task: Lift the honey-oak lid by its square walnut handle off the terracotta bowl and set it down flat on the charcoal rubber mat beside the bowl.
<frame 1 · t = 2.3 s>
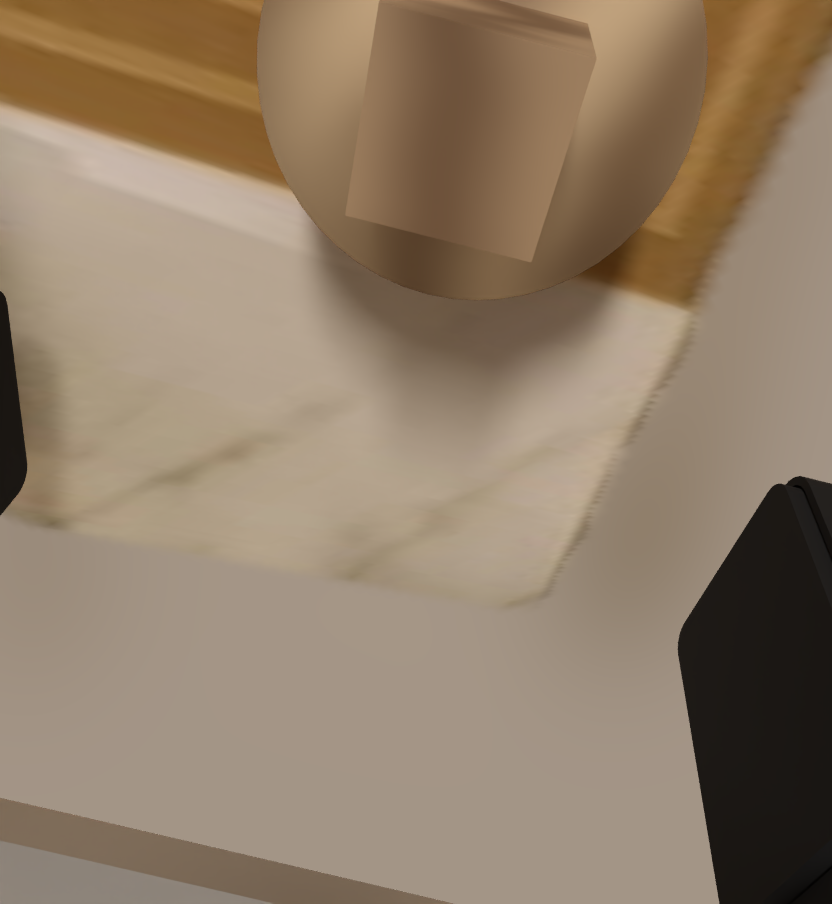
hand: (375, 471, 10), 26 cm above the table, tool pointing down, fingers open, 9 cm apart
lid: (476, 89, 26), point 6 cm above the table, touching bowl
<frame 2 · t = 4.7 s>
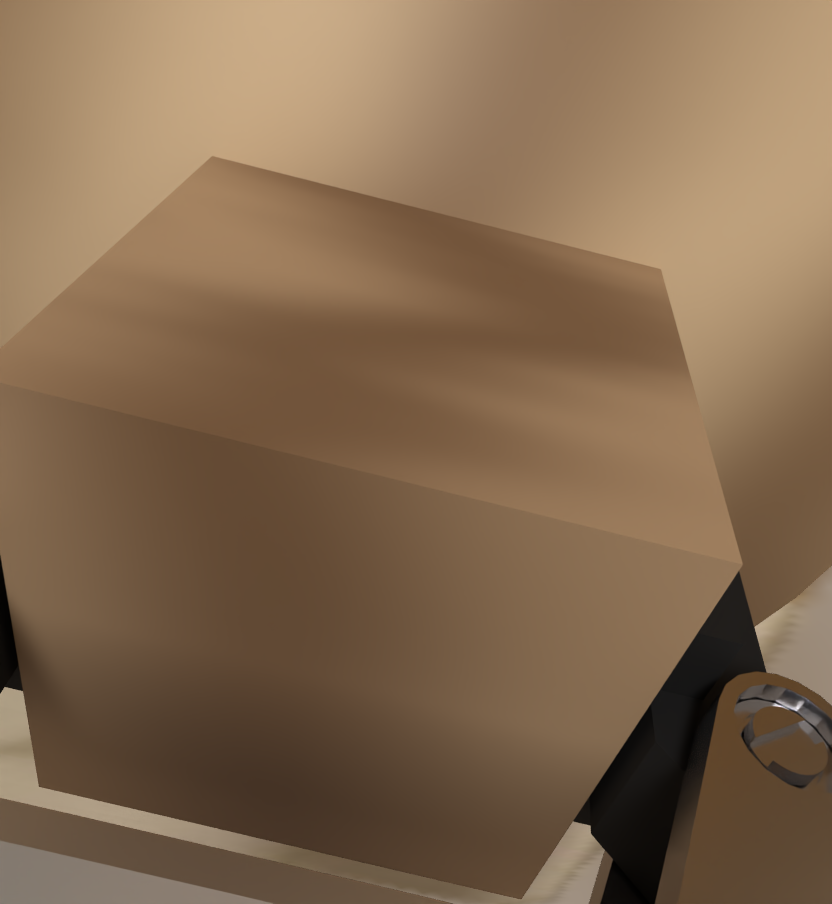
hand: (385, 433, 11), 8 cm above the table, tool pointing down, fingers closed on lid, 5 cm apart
lid: (404, 363, 12), point 6 cm above the table, touching bowl, gripper
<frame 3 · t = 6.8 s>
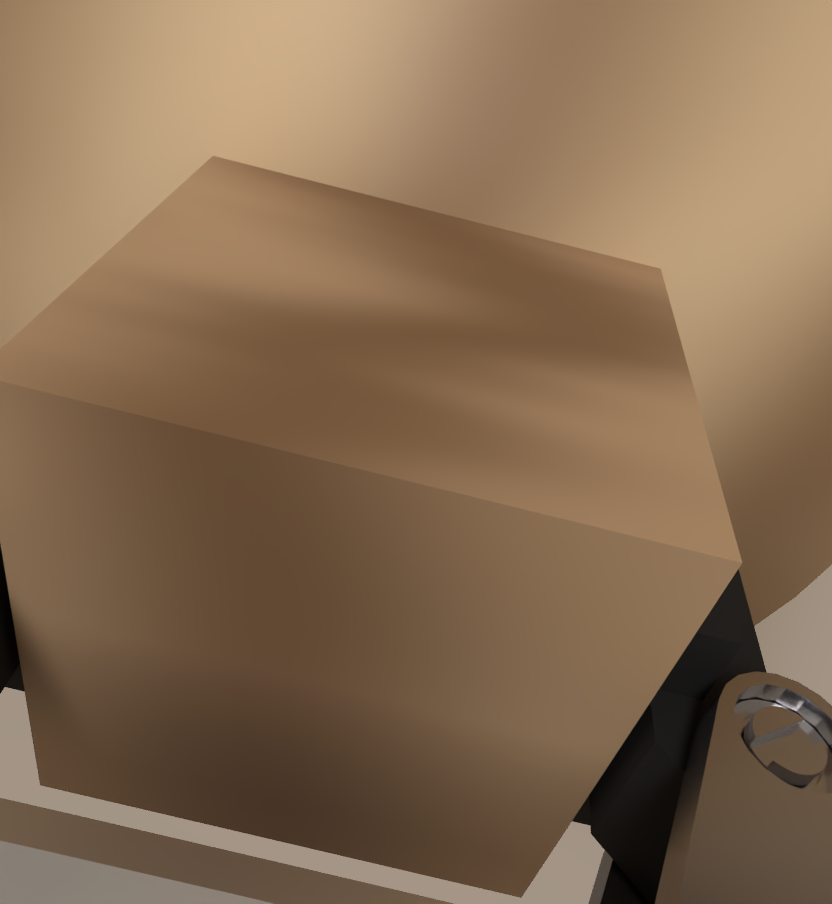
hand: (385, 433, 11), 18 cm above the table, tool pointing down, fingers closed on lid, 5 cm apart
lid: (405, 362, 12), point 16 cm above the table, touching gripper
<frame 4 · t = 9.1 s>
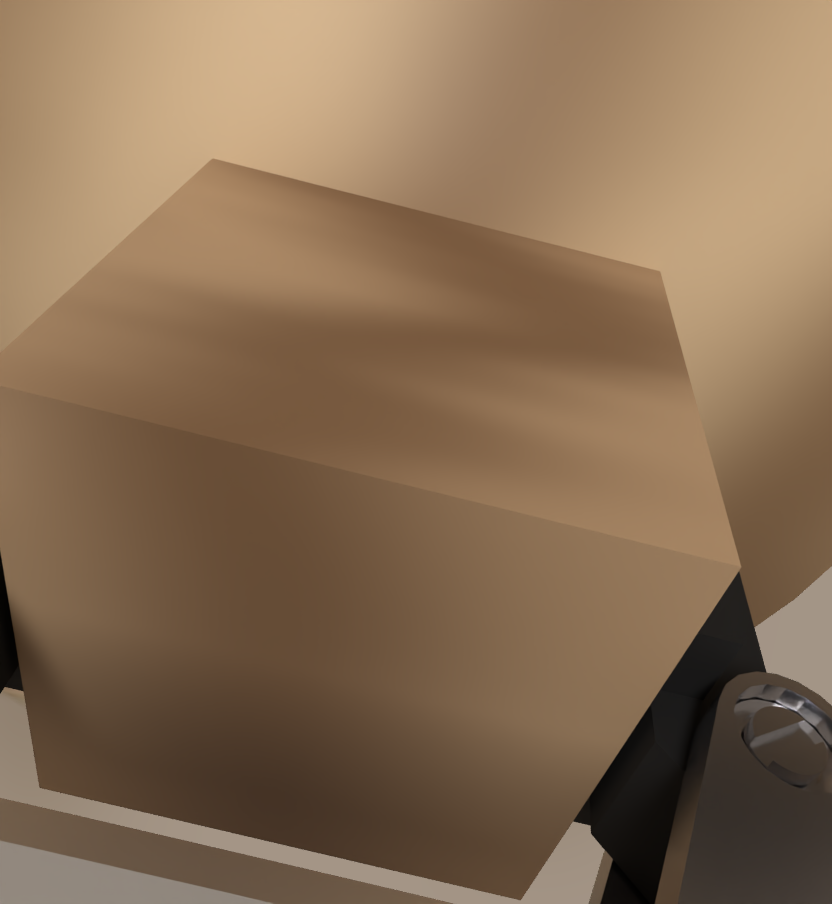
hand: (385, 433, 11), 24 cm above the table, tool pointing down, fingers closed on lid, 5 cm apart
lid: (404, 364, 12), point 22 cm above the table, touching gripper
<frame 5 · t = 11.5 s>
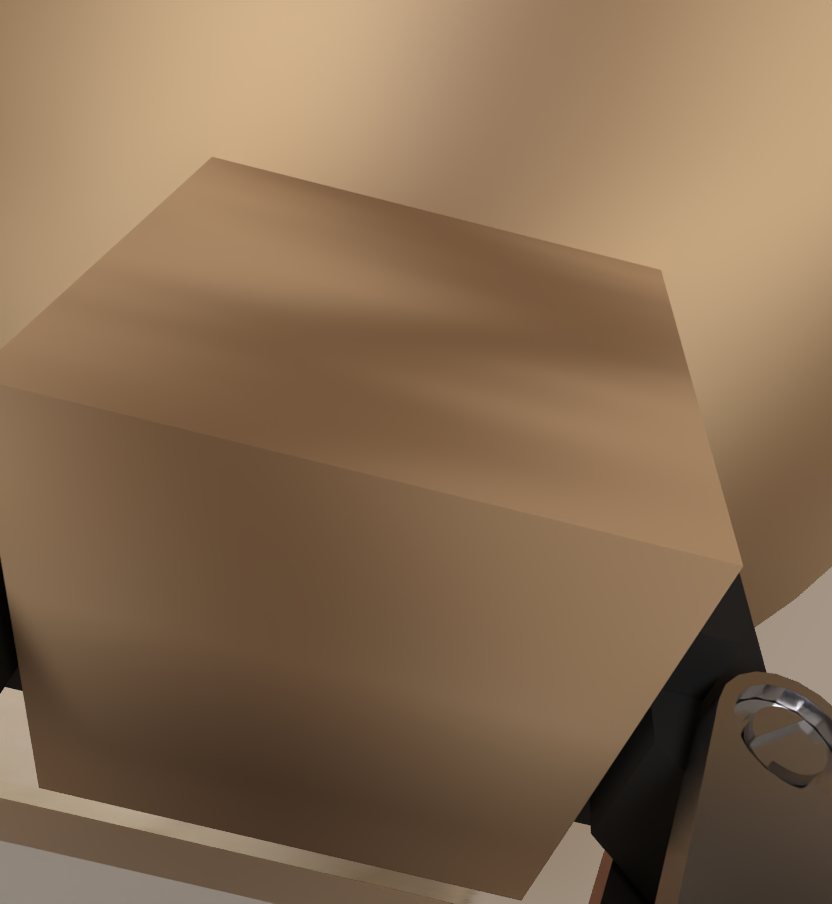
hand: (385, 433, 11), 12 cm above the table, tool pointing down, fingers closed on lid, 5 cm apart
lid: (405, 364, 12), point 11 cm above the table, touching gripper
when the fingers open (4 cm above the table, at t = 13.6 s): lid drops 1 cm, resting on mat.
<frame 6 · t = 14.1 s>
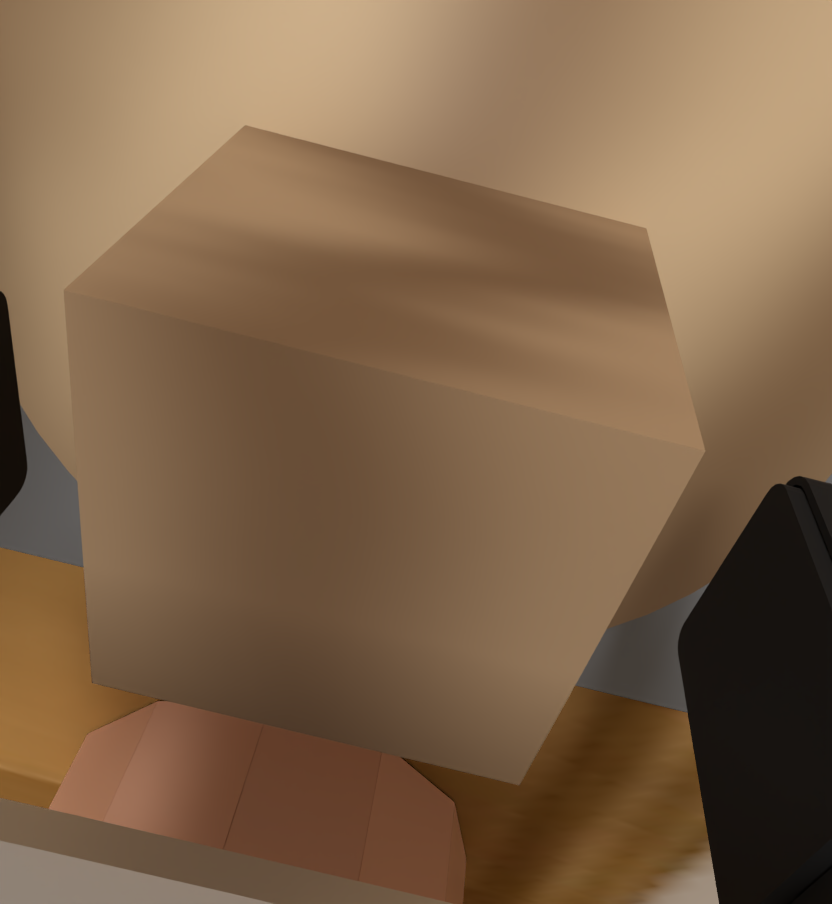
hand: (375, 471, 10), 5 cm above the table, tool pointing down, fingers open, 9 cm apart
bowl: (269, 822, 25), on the table
mat: (421, 304, 14), on the table
lid: (414, 321, 13), point 1 cm above the table, touching mat
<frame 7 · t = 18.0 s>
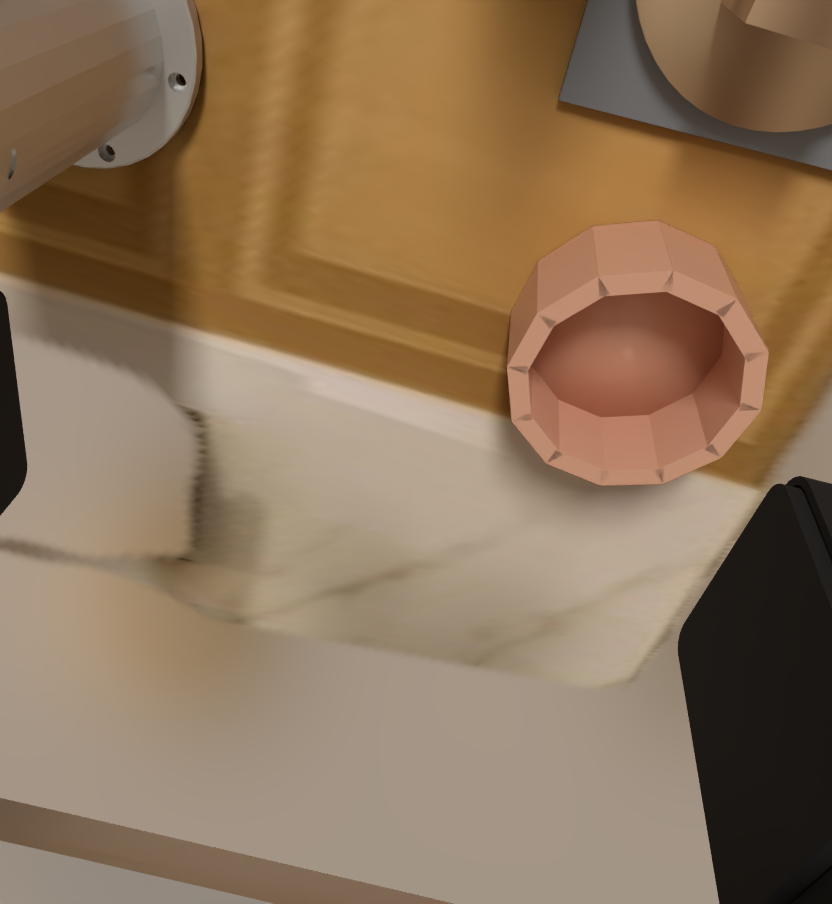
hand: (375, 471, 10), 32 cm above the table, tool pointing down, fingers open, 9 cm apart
bowl: (623, 329, 43), on the table
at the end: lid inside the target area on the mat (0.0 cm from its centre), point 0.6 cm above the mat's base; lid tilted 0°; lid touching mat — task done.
